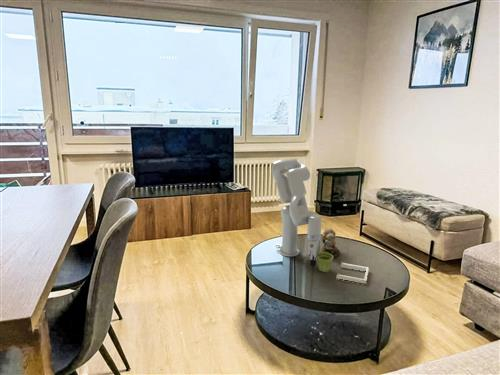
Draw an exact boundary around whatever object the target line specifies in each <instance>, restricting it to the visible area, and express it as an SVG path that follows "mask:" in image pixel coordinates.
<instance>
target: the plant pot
mask: <svg viewBox="0 0 500 375" xmlns="http://www.w3.org/2000/svg"><path fill="white" fill-rule="evenodd" d="M333 259H334V258H333V255H331V254H329V253H324V252H322V253H321V252H319V254H318V256H317V257H316V260H317V267H318V270H319V271H320V272H321V271H322V273H328V272H330V270H331V264H332V261H333Z"/></svg>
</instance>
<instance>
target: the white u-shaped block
mask: <svg viewBox="0 0 500 375" xmlns="http://www.w3.org/2000/svg"><path fill="white" fill-rule="evenodd" d="M340 268H341V269H342V268H343V269H349V270H352V269H353V270H354V271H358V270H360V272H363V271H366V272H364V274H365V275H364V277H363V278H360V277H354V276H349V275H345V274H341V273H339V272H336V279H337V278H338V279H337V280H339V279H343V280H342V281H344V280H349V281H355V282H361V283H366V284H367V282H366V281H368V277H367V276H369V271H370V268H369V267H368V266H362V265H358V264H357V265H356V264H351V263H346V262H343V261H341V262H340ZM349 281H348V282H349Z"/></svg>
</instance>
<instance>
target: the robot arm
mask: <svg viewBox="0 0 500 375" xmlns="http://www.w3.org/2000/svg"><path fill="white" fill-rule="evenodd" d="M271 175H272V177H273V179H274V181H275V184H276V188H277V193H278V197H279V200H280V202H281V203H282V204H288V205H285V206H283V207H282V208H281V211H280V216H281V220H282V221H281V222H282V224H281V225H282V230H281V231H282V233H281V234H282V235H281V237H282V238H281V239H282V240H281V241H282V242H281V244H280V243H276V244H275V247H276V249H279V253H280V255H282V256H284V257H290V258H291V257H297V256H298V255H299V254H300V249H298V231H299V230H298V227H302V226H305V225H307V235H306V236H307V237H306V238H307V240H308V243H307V244H308V245H307V246H308V248H307V256H308V257H309V266H311V267H316V266H317V256H318V254H319V253H321V244H320V243H321V240H322V220H323V219H322V216H321V215H319V214H316V213H315V212H314V211H312V210H309V207H308V203H307V199H306V194H307V190H306V186H305V181H309V180H310V178H311V172H310V170H309V168H308V167H307V166H306V165H305V164H304V163H303V162H301V161H300V160H298V159H297V158H288V159H280V160H279V159H278V160H276V161H274V162H273V163H272V165H271Z"/></svg>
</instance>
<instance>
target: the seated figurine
mask: <svg viewBox="0 0 500 375" xmlns="http://www.w3.org/2000/svg"><path fill="white" fill-rule="evenodd" d="M336 237H337V236H336V231H335V230H334V229H332V228H331V227H329V228H328V227H327V228H326V229H324V230H323V231H322V232H321V242H322V244H323V246H322V247H320V253H322V252H324V253H329V254H331V255H333V259H336V258H338V257H339V256H340V250H339V248H338V247H337V246H336Z"/></svg>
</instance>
